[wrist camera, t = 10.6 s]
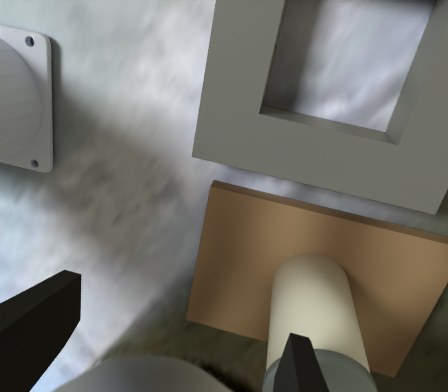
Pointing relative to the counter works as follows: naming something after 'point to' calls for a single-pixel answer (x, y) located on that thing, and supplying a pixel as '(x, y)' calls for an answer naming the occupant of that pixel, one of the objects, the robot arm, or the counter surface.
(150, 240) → the counter surface
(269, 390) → the cartridge
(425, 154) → the housing
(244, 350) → the counter surface
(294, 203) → the board
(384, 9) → the counter surface
